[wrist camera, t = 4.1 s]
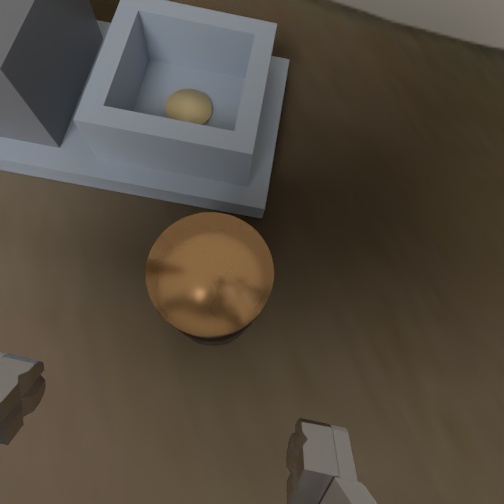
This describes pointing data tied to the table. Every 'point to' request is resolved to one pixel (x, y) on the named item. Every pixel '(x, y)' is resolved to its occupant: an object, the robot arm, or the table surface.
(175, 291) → the cylinder
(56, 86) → the checker
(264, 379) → the table surface
